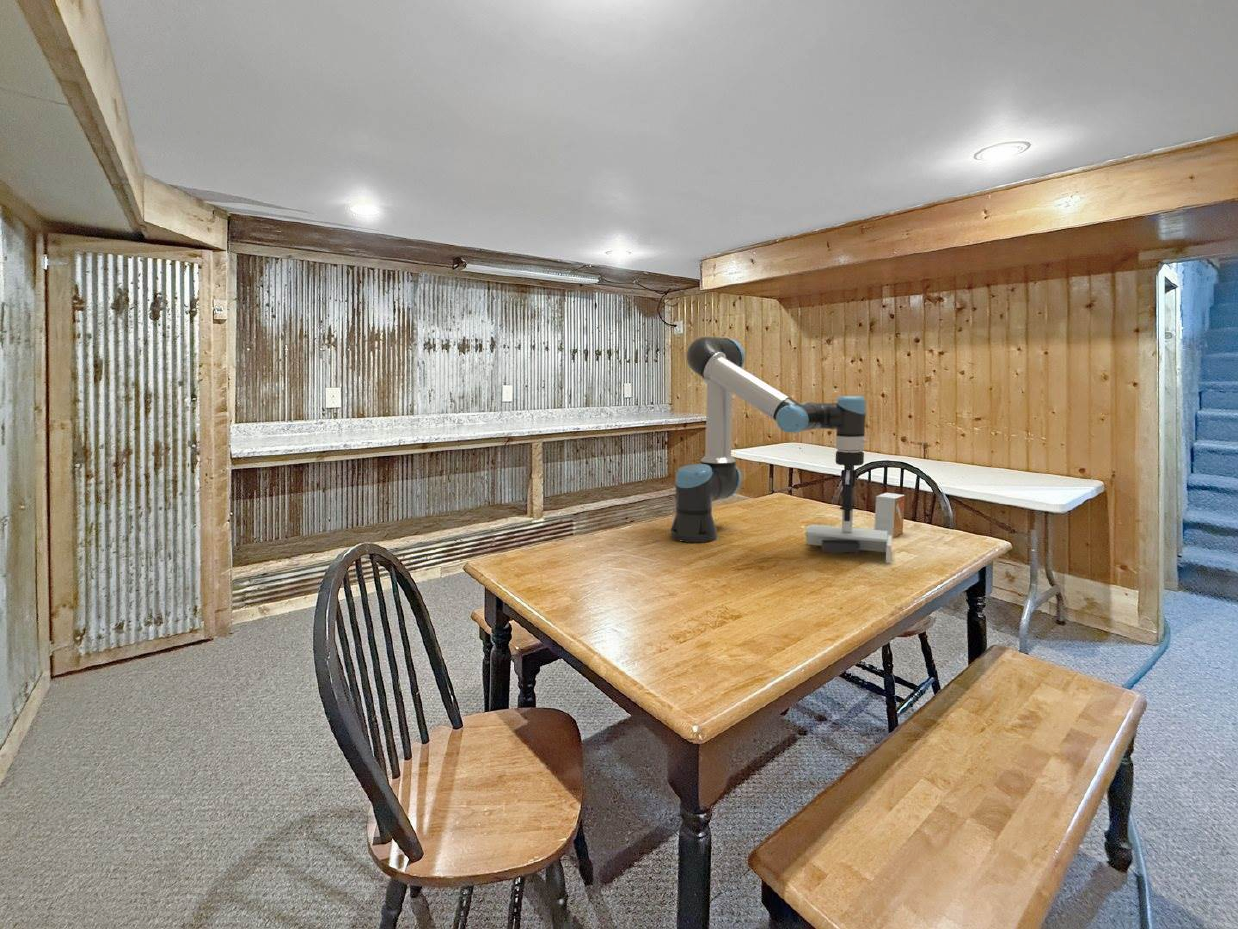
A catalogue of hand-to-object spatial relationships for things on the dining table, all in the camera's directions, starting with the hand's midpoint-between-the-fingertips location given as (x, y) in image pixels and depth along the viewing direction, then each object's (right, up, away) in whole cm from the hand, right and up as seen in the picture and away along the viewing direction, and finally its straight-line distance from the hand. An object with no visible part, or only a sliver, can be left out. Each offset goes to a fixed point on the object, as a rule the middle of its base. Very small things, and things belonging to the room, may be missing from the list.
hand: (846, 531), depth 171 cm
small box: (+22, -4, +22) cm, 31 cm away
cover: (0, -1, +1) cm, 2 cm away
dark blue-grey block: (0, -7, +5) cm, 8 cm away
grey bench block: (+1, -6, +4) cm, 8 cm away
